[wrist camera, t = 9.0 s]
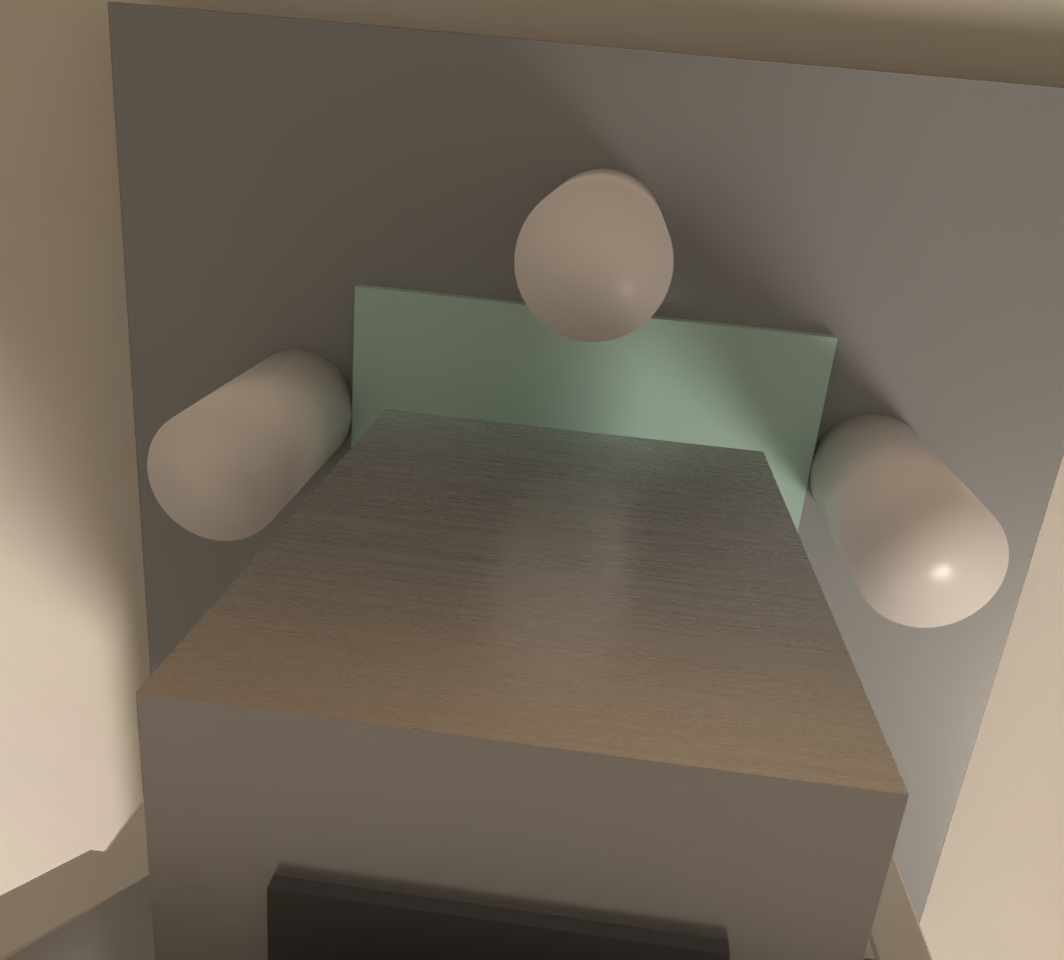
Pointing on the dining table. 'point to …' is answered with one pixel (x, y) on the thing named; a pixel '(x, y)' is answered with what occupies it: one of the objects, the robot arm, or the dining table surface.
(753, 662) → the block
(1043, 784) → the dining table surface
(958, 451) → the pin tray
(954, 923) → the dining table surface
